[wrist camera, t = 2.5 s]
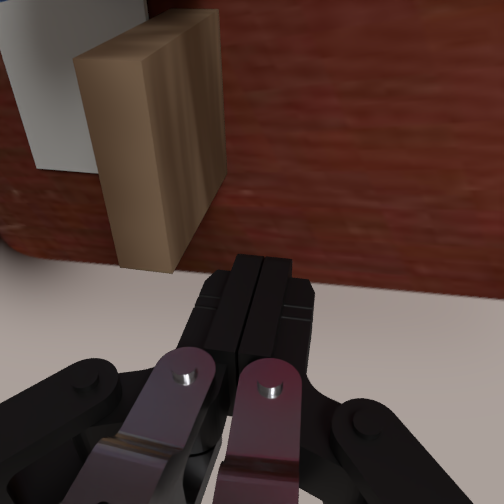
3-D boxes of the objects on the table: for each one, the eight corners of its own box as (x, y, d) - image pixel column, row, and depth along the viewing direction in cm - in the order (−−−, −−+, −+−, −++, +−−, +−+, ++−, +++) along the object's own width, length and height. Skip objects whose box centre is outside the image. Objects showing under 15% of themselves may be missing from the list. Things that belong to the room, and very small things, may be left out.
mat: (145, -3, 24) (142, -2, 24) (169, 176, 30) (167, 179, 30) (-12, -5, 26) (-17, -4, 25) (40, 165, 31) (36, 168, 31)
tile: (218, 9, 24) (141, 61, 16) (227, 173, 29) (172, 273, 21) (168, 8, 24) (68, 58, 16) (185, 169, 29) (116, 267, 21)
